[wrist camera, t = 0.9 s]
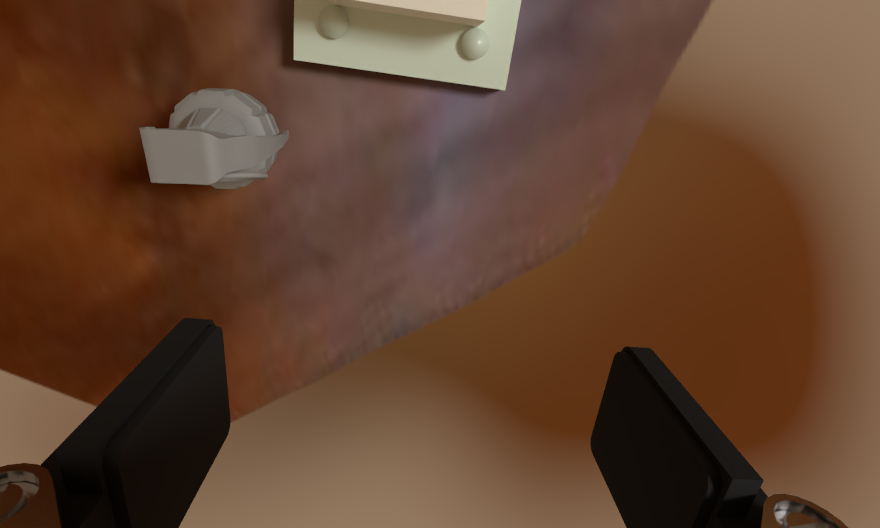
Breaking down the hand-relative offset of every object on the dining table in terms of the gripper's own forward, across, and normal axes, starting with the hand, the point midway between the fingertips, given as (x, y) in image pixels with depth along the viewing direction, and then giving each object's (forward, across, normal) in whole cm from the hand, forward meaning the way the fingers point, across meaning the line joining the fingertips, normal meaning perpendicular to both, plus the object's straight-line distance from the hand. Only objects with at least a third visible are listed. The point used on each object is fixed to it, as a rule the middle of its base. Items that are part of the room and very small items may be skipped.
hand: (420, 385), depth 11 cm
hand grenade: (+26, +12, -2) cm, 28 cm away
